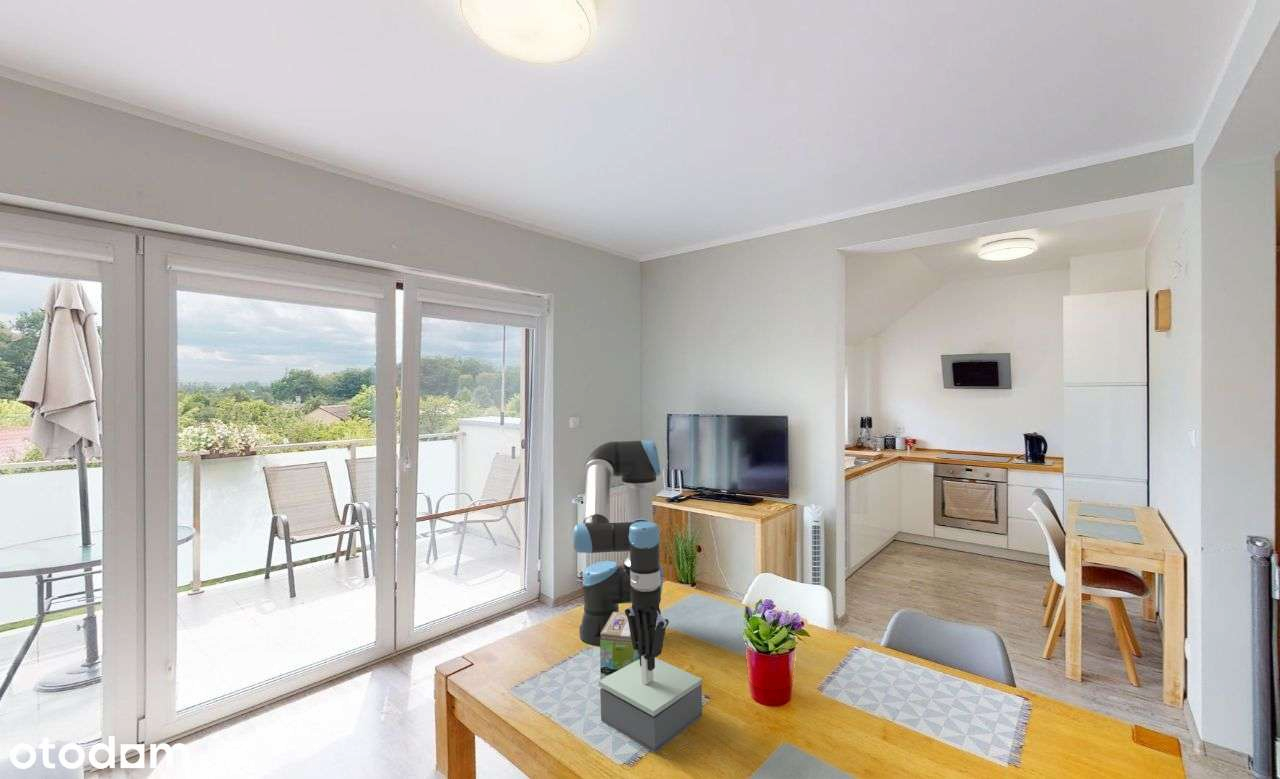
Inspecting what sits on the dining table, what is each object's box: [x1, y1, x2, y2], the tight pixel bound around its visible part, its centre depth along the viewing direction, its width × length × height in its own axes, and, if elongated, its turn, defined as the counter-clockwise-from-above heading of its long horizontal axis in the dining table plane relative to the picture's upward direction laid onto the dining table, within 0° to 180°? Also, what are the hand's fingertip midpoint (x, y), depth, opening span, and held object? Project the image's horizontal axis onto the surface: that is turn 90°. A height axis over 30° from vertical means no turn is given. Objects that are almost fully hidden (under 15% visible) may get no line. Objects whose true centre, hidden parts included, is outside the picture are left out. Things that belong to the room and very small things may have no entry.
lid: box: [598, 657, 703, 716], centre depth 132 cm, size 18×18×1 cm
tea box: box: [599, 611, 640, 680], centre depth 153 cm, size 15×10×15 cm
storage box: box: [599, 683, 703, 754], centre depth 132 cm, size 18×18×8 cm
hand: (647, 681), depth 131 cm, fingers closed
